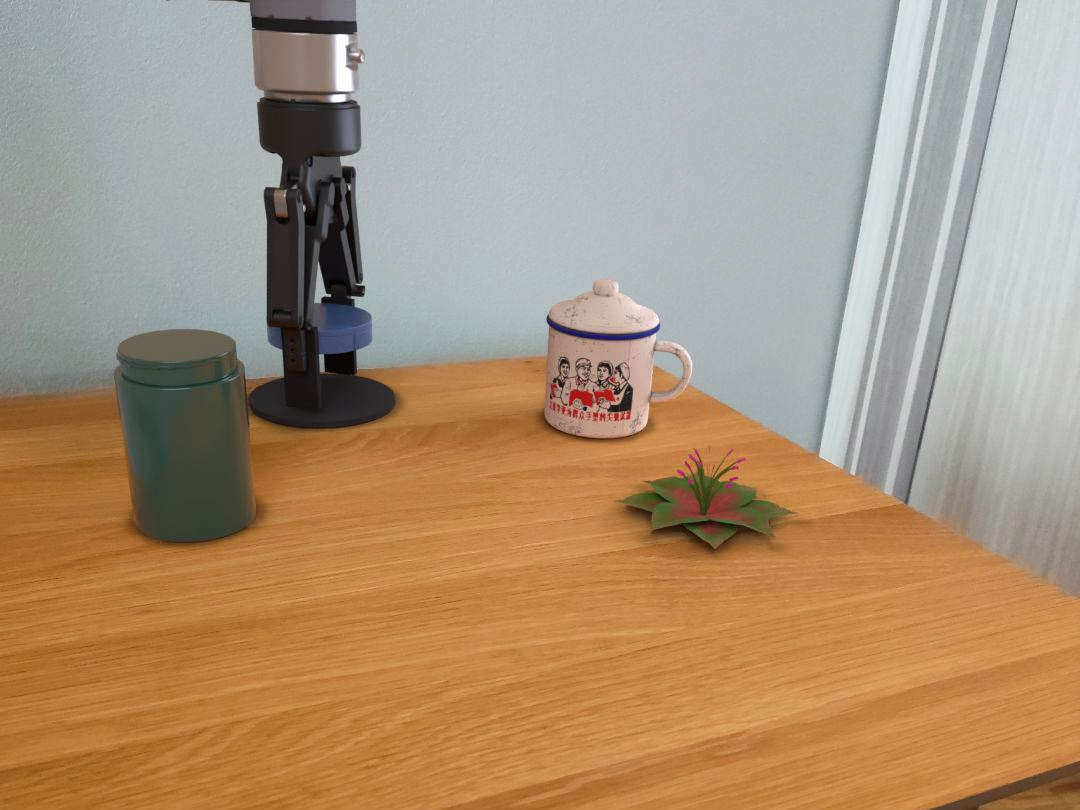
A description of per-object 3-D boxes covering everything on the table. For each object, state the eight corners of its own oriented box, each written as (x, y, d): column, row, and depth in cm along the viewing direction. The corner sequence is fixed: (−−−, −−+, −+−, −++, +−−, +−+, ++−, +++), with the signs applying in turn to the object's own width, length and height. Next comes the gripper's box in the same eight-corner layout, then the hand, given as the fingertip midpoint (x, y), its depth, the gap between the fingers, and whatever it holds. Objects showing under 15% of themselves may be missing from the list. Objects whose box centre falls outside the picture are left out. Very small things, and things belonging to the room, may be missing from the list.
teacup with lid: (529, 432, 85) (536, 288, 80) (553, 397, 93) (561, 263, 88) (678, 452, 83) (695, 305, 78) (690, 414, 91) (706, 278, 86)
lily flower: (581, 508, 73) (585, 446, 71) (694, 467, 80) (701, 410, 78) (717, 575, 65) (726, 508, 63) (828, 523, 73) (839, 462, 71)
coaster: (219, 401, 88) (218, 394, 88) (330, 370, 97) (330, 364, 96) (314, 440, 82) (313, 432, 81) (424, 403, 90) (424, 396, 90)
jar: (110, 516, 68) (84, 342, 63) (210, 482, 74) (194, 320, 69) (179, 554, 64) (157, 372, 59) (280, 516, 70) (268, 346, 64)
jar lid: (394, 340, 87) (393, 318, 86) (314, 361, 81) (313, 337, 80) (326, 319, 92) (325, 297, 91) (246, 337, 86) (244, 314, 85)
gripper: (306, 110, 68) (323, 438, 79) (397, 89, 87) (401, 356, 97) (196, 103, 69) (227, 428, 80) (310, 84, 88) (323, 349, 98)
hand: (323, 388), depth 89 cm, fingers closed on jar lid, 8 cm apart
